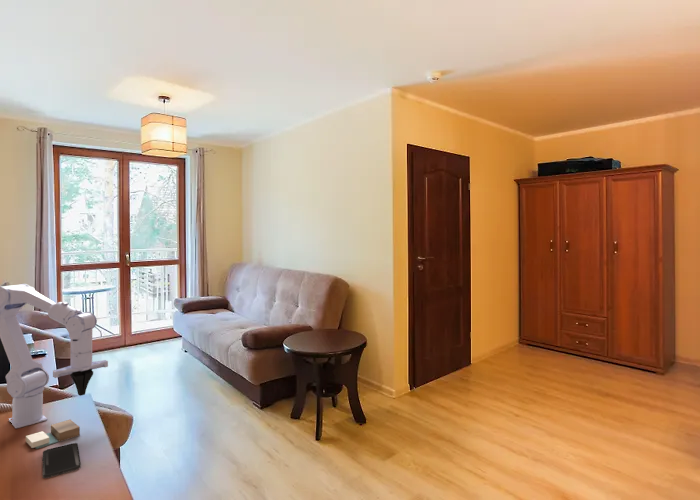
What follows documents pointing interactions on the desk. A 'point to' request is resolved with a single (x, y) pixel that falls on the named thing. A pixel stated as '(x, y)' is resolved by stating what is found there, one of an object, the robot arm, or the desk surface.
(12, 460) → the desk surface
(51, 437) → the mat
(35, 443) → the cream rectangular block
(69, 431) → the block
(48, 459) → the phone
